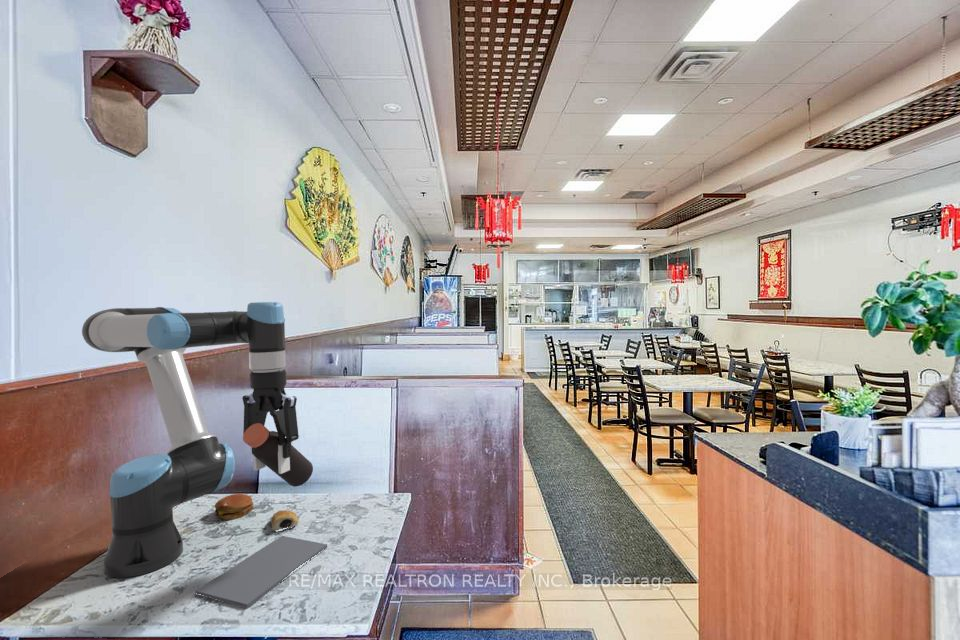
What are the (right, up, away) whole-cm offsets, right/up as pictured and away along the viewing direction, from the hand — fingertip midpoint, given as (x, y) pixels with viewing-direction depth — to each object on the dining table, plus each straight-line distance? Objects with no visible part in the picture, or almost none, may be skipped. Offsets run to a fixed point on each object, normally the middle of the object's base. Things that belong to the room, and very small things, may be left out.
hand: (272, 469), depth 106 cm
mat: (0, -22, -2) cm, 22 cm away
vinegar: (+3, -4, +9) cm, 10 cm away
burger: (-23, -22, +28) cm, 42 cm away
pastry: (-6, -22, +20) cm, 30 cm away
